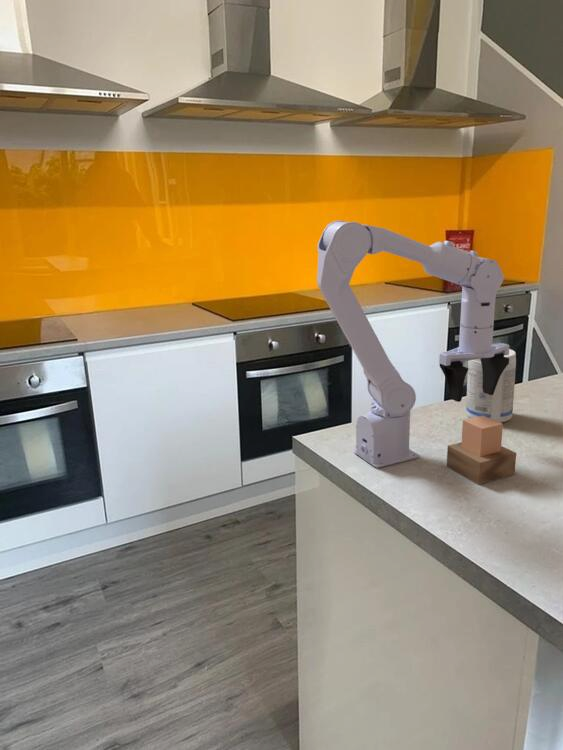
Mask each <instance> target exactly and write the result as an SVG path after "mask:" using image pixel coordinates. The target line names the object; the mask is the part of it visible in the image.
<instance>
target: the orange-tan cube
mask: <svg viewBox="0 0 563 750" xmlns="http://www.w3.org/2000/svg"><path fill="white" fill-rule="evenodd" d="M503 428H504V423H503V422H502V423H500V422H497V421H495V420H493V419H490V418H488V417H486V416H479V417H475V418H470V417H469V418H467V419H463V420H462V428H461V429H462V430H461V442H462V444H461V447H463V448H465V449H466V450H468V451H470V452H472V453H474V454H476V455H478V456H484V455H488V454H491V453H495V452H499V451H501V446H502V439H503Z"/></svg>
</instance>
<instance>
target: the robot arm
mask: <svg viewBox="0 0 563 750" xmlns="http://www.w3.org/2000/svg"><path fill="white" fill-rule="evenodd" d="M382 252H386V253H389V254H392V255H395V256H397V257H402V258H403V259H407V260H411V261H413V262H417V263H420V264H421V265H422V267H423V270H424V272H425V274H427V275H430V276H434V277H435V278H439V279H442V280H444V281H447V282H450V283H453V284H455V285H459V286H461V289H462V290H461V303H460V304H461V307H460V319H459V320H460V321H459V323H460V324H459V338H458V339H459V342H458V347H455V348H453V349H450V350H448V351H447V350H446V351H444V352H439V355H438V356H439V358H438V359H439V360H438V362H439V363H438V364H439V369H441V371H442V373H443V375H444V377H445V380H446V383H447V386H448V390H449V395H450V396H449V397H450V400H452V401H455V402H457V403H460V402H462V398H463V393H464V384H465V380H466V376H467V375H468V367H466V366H464V365H463V364H462V363H463V362H464V363H465V362H468V361H469V360H475V359H480V360H481V364H482V371H483V392H484V393H486V394H489V395H493V394H494V391H495V388H496V386H497V383H498V380H499V378H500V376H501V374H502V372H503V371H504V369H505V368H506V366H507V365H508V364H509V358H507V357H504V356H506V355H509V349H510V345H509V344H507V343H505V342H504V343H503V342H501V343H500V342H499V343H493V337H494V325H495V323H494V322H495V310H496V309H495V308H496V299H497V291H498V290H499V288H500V287H501V285H502V284H503V282H504V279H505V275H504V274H503V273H502V268H501V266H500V265H499V263H498V262H497V261H496V260H493V259H490V258H486V257H485V258H484V257H480V256H478V254H479V253H478V252H477V251H474V250H470V251H466V250H463V249H461V248H458V247H455V242H453V241H450V240H444V241H443V242H442V241H436V242H435V243H432V244H430V245H426V244H424V243H422V242H420V241H417V240H414V239H412V238H409V237H407V236H404V235H403V234H399V233H397V232H394V231H392V230H390V229H388V228H384V227H380V226H375V225H367V224H362V223H360V222H357V221H345V220H341V219H339V220H335V221H331V222H330V223H329V224H327V226H325V228H324V229H323V231H322V234H321V236H320V237H319V241H318V243H317V254H318V255H317V256H318V257H317V272H316V273H317V275H316V283H317V286H318V289H319V291H320V293H321V295H322V297H323V298H324V300H325V302H326V303H327V305H328V307H329V309H330V311H331V313H332V314H333V317H334V318H335V320H336V321H337V323H338V325H339V327H340V329H341V331H342V333H343V334H344V336H345V338H346V340H347V341H348V343H349V345H350V347H351V349H352V351H353V353H354V354H355V356H356V358H357V360H358V361H359V363H360V366H361V367H362V369H363V374H364V376H365V378H366V382H367V383H366V384H367V388H366V389H367V392H368V393H369V395H370V397H372V402H371V404H370V410H368V411H367V412H366V413H365V414H362V415H360V416H359V417H358V418H357V420H356V424H355V425H356V428H355V431H356V432H355V435H356V436H355V437H356V438H355V443H356V444H355V449H354V450H353V452H354V454H356V455H358V456H359V457H360V458H362V460H365V461H366V462H367V463H369V464H370V465H372V466H373V467H375V468H378V469H379V468H382V467H387V466H390V465H395V464H398V463H402V462H407V461H410V460H414V459H418V458H419V457H420V454H419V453H417V452H415V451H413V450H411V449H410V437H411V435H410V434H411V433H410V431H411V410H412V409H413V407H414V406H415V404H416V400H417V399H416V398H417V396H416V395H417V394H416V391H415V389H414V387H413V386H412V385H411V384H409V383H407V382H406V381H405V380H403V378H402V377H401V375H400V373H399V371H398V370H397V368H396V367H395V366H394V365H393V363H392V362H391V360H390V358H389V356H388V355H387V353H386V351H385V349H384V347H383V345H382V344H381V341H380V340H379V338H378V336H377V334H376V333H375V332H376V331H374V329H373V327H372V325H371V323H370V321H369V319H368V317H367V316H366V313H365V312H364V310H363V308H362V306H361V304H360V303H359V300H358V299H357V296H356V294H355V293H354V291H353V289H352V287H351V285H350V282H351V280H352V277H353V276H354V272H355V269H356V268H357V267H358V266H359V265H360V263H361V262H362V261H363V260H364V258H365V257H366V256H367V254H369V255H372V256H373V255H376V254H378V253H382Z"/></svg>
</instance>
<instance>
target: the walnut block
mask: <svg viewBox="0 0 563 750" xmlns="http://www.w3.org/2000/svg"><path fill="white" fill-rule="evenodd" d="M461 444H462V441H460V442H458V443H454V444H453V443H452V444H448V445H447V451H446V467H447V468H449V469H450V470H452V471H454V472H456V473H458V474H459V475H460V476H463V477H464V478H466V479H468V480H469V481H471V482H473V483H474V484H476V485H483V484H486V483H490V482H492V481H496V480H500V479H503V478H507V477H511V476H513V475H515V473H516V472H515V471H516V465H517V464H516V463H517V462H516V461H517V452H515V451H513V450H511V449H509V448H507V447H504V446H503V445H501V451H499V452H495V453H491V454H488V455H484V456H478V455H476V454H474V453H472V452H470V451H468V450H466V449H465V448H463V447H461Z"/></svg>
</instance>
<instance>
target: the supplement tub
mask: <svg viewBox="0 0 563 750" xmlns="http://www.w3.org/2000/svg"><path fill="white" fill-rule="evenodd" d="M516 353H517V352H516V351H515V350H513V349H511V348H509V355H506V356H504V357H507V358H509V364H508V365H507V366H506V368H505V369H504V371H503V372H502V374H501V376H500V378H499V380H498V383H497V386H496V388H495V391H494V394H493V395H489V394H486V393H484V392H483V371H482V364H481V360H480V359H475V360H469V361H467V368H468V372H467V383H466V384H467V385H466V404H465V407H466V409H465V412H466V413H465V414H466V415H467V417H468V418H469V419H470V418H475V417H479V416H486V417H488V418H490V419H493V420H495V421H497V422H500V423H502V424H503V423H505V422H508V421H509V420H511V419H512V417H513V410H514V399H515V383H516V371H517V368H516V366H517V358H516V356H517V354H516Z"/></svg>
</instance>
